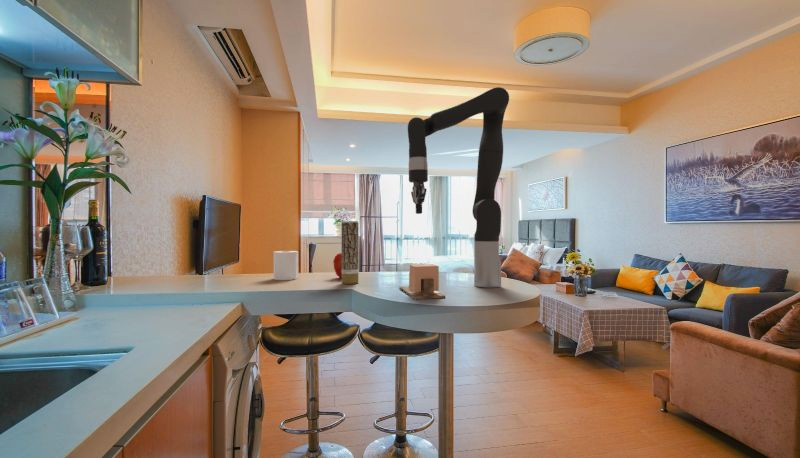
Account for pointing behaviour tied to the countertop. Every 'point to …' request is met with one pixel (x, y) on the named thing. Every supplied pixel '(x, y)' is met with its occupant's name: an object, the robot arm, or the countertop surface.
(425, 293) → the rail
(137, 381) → the countertop surface
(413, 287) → the light brown square block
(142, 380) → the countertop surface
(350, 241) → the brown tall block
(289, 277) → the toilet paper
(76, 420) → the countertop surface
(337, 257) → the apple
